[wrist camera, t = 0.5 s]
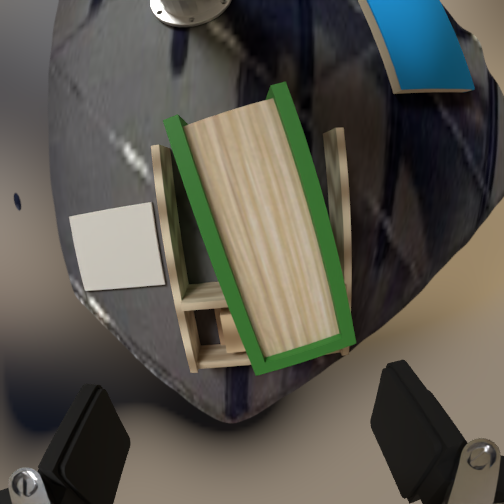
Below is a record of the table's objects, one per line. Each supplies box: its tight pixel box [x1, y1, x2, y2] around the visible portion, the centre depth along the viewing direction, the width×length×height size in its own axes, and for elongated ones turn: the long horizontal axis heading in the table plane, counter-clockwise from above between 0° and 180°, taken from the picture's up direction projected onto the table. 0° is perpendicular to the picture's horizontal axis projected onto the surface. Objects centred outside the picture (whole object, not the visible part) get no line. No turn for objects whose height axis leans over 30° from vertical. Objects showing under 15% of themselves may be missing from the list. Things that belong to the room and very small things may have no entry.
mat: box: [69, 202, 165, 291], centre depth 41 cm, size 12×14×1 cm
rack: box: [151, 128, 352, 373], centre depth 39 cm, size 31×23×7 cm
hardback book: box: [163, 82, 356, 376], centre depth 29 cm, size 18×7×24 cm, turn 18°
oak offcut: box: [220, 307, 246, 353], centre depth 41 cm, size 6×12×3 cm, turn 97°
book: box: [358, 0, 475, 94], centre depth 32 cm, size 17×4×25 cm
